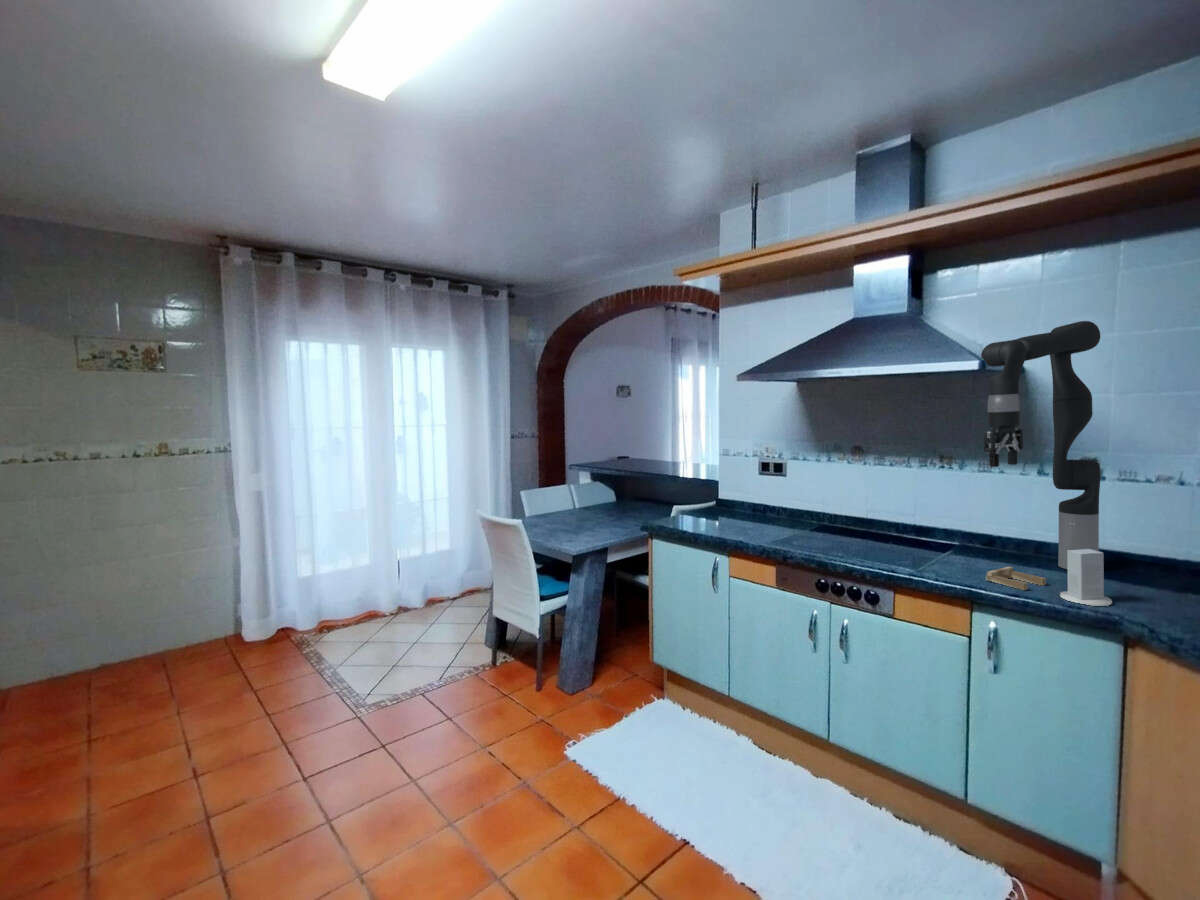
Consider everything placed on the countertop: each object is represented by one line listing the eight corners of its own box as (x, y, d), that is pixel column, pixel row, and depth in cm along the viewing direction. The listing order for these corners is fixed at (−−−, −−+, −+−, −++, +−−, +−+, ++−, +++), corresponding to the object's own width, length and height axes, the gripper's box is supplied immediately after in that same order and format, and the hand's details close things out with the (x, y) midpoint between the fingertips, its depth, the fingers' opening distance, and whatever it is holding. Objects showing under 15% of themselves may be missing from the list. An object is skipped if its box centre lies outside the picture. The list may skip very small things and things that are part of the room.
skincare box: (1088, 593, 143) (1089, 548, 143) (1104, 599, 139) (1104, 552, 138) (1066, 594, 143) (1066, 549, 142) (1081, 600, 139) (1081, 553, 138)
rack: (1007, 576, 163) (1007, 566, 163) (1046, 585, 154) (1046, 574, 153) (986, 581, 159) (985, 571, 159) (1024, 591, 150) (1024, 580, 149)
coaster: (1073, 591, 148) (1073, 588, 148) (1120, 602, 138) (1120, 599, 138) (1051, 597, 144) (1051, 594, 144) (1098, 609, 134) (1098, 606, 134)
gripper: (1001, 410, 154) (1002, 468, 155) (1032, 409, 159) (1032, 464, 160) (974, 411, 160) (974, 466, 161) (1004, 409, 166) (1005, 463, 167)
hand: (1003, 465), depth 161 cm, fingers open, 8 cm apart
